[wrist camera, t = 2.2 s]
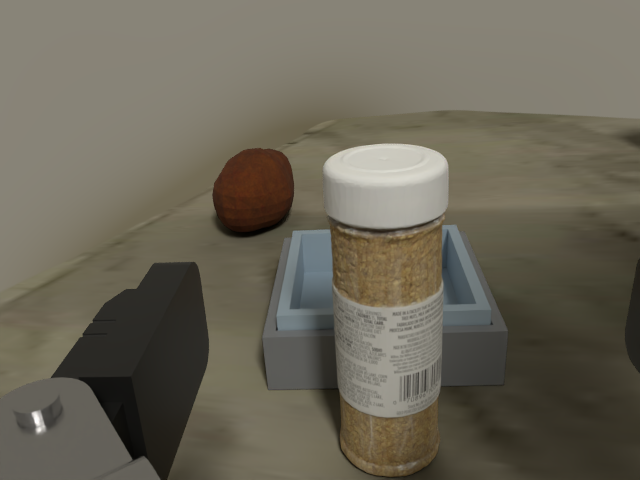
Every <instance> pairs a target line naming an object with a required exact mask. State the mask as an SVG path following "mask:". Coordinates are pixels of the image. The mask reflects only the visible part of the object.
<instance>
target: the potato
mask: <svg viewBox="0 0 640 480" xmlns="http://www.w3.org/2000/svg"><path fill="white" fill-rule="evenodd" d="M293 197H294V181H293V174H292V168H291V165H290V163H289V161H288V158H287V157H286V156H285V155H284V154H283V153H282V152H279V151H276V150H273V149H261V148H255V149H247V150H243V151H242V152H240V153H239V154H237V155H235V156H234V157H232V158H231V159H230V160H229V161H228V162H227V163H226V165H225V167H224V168H223V170H222V172H221V173H220V175H219V177H218V178H217V180H216V181H215V183H214V189H213V202H214V207H215V210H216V212H217V215H218V217H219V219H220V220H221V222H222V223H223V224H224V225H225V226H226V227H227V228H229V229H231V230H232V231H236V232H250V231H255V230H258V229H261V228H264V227H269V226H272V225H274V224H276V223H278V222H279V221H280V220H281V219H282V218H283V217H284V216H285V215H286V213H287V212H288V211H289V209H290V208H291V206H292V202H293Z"/></svg>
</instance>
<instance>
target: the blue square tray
mask: <svg viewBox="0 0 640 480" xmlns="http://www.w3.org/2000/svg"><path fill="white" fill-rule="evenodd" d="M331 244H332V243H331V233H330V230H304V231H293V234H292V238H284V243H283V247H282V252H281V256H280V261H279V265H278V270H277V274H276V279H275V283H274V288H273V292H272V297H271V301H270V305H269V310H268V314H267V319H266V323H265V328H264V332H263V337H262V340H263V348H264V357H265V366H266V375H267V383H268V390H284V389H331V388H338V379H337V364H336V348H335V330H334V312H333V295H332V278H333V271H332V267H333V266H332V248H331ZM442 279H443V327H442V360H441V386H472V385H504V377H505V365H506V353H507V341H508V329H507V327H506V325H505V323H504V320H503V318H502V316H501V313H500V311H499V309H498V307H497V304H496V302H495V300H494V298H493V295H492V293H491V291H490V288H489V286H488V284H487V282H486V279H485V277H484V275H483V272H482V270H481V268H480V266H479V263H478V261H477V259H476V257H475V254H474V252H473V250H472V247H471V245H470V243H469V241H468V238H467V236H466V234H465V232H464V231H463V232H459V231H458V229H457V226H456V225H442Z"/></svg>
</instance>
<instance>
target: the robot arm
mask: <svg viewBox="0 0 640 480" xmlns="http://www.w3.org/2000/svg"><path fill="white" fill-rule="evenodd" d="M625 342H626V348H627V352H628V355H629V358H630V360H631V362H632V363H633V365H634V366H635V368H636V369H637V370H638V372H639V373H640V258H639V260H638V263H637V267H636V272H635V278H634V283H633V289H632V294H631V300H630V305H629V311H628V316H627V322H626V328H625ZM208 353H209V338H208V329H207V322H206V315H205V308H204V301H203V294H202V286H201V279H200V273H199V269H198V266H197V264H196V263H195V262H173V263H154V264H153V265H152V266H151V268H150V269H149V271H148V272H147V274H146V276H145V277H144V279H143V280H142V282H141V283H140V285H139V286H138V288H137V289H126V290H124V291H123V292H121V293H120V294H118V295H117V296H115V297H114V298H112V299H111V300H109V301H108V302H106V303H105V304H104V305H103V307H102V308H101V309H100V311H99V312H98V313H97V315H96V316H95V318H94V319H93V323H90V324H89V326H88V327H87V329H86V330H85V331H84V333H83V337H80V338H79V340H78V341H77V342H76V344H75V345H74V346H73V348H72V349H71V351H70V352H69V353H68V355H67V356H66V357H65V359H64V360H63V362H62V363H61V364H60V366H59V367H58V368H57V370H56V371H55V373H54V374H53V375H52V377H51V378H49V379H43V380H39V381H35V382H32V383H29V384H26V385H24V386H21V387H19V388H17V389H15V390H13V391H11V392H9V393H8V394H6V395H4V396H3V397H1V398H0V480H167V478H168V475H169V472H170V469H171V467H172V464H173V461H174V458H175V455H176V452H177V449H178V447H179V444H180V441H181V438H182V435H183V432H184V430H185V427H186V424H187V421H188V418H189V415H190V413H191V410H192V407H193V404H194V401H195V398H196V395H197V393H198V390H199V387H200V384H201V381H202V378H203V376H204V373H205V370H206V367H207V362H208Z"/></svg>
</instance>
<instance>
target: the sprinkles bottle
mask: <svg viewBox="0 0 640 480" xmlns="http://www.w3.org/2000/svg"><path fill="white" fill-rule="evenodd" d="M448 184H449V180H448V163H447V160H446V159H445V157H444V156H443V155H441V154H440V153H438V152H436V151H434V150H432V149H429V148H425V147H421V146H415V145H407V144H376V145H367V146H360V147H355V148H351V149H347V150H344V151H341V152H339V153H337V154H335V155H333V156H331V157H330V158H329V159H328V160H327V161H326V162H325V164H324V166H323V194H324V208H325V211H326V213H327V214H328V216H327V220H328V222H329V224H330V233H331V243H332V244H331V248H332V266H333V267H332V271H333V278H332V295H333V312H334V330H335V348H336V364H337V379H338V388H339V391H340V406H341V430H340V442H341V449H342V451H343V452H344V454H345V455H346V456H347V458H348V459H349V460H350V461H351V462H352V463H353V464H354V465H355V466H356V467H358V468H359V469H361V470H363V471H365V472H366V473H370V474H373V475H378V476H386V477H401V476H407V475H410V474H413V473H415V472H417V471H420V470H421V469H422V468H424V467H426V466H427V465H428V464H429V463H430V462H431V461H432V460H433V459H434V457H435V456H436V454H437V452H438V448H439V443H440V434H439V430H438V427H437V424H438V395H439V393H440V387H441V360H442V327H443V279H442V223H443V221H444V219H445V210H446V208H447V206H448Z"/></svg>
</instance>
